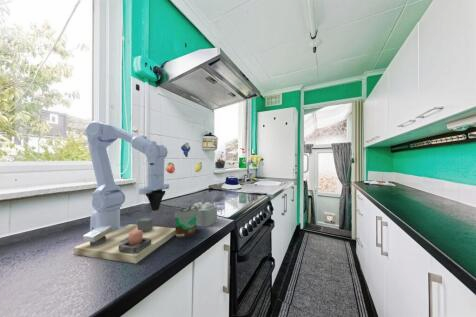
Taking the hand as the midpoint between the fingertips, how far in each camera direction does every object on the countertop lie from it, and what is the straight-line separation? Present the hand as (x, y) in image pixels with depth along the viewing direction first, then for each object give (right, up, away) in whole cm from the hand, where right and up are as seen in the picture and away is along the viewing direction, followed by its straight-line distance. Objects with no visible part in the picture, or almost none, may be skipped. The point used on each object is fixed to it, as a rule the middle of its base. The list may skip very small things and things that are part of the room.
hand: (155, 210), depth 64 cm
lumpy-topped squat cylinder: (+15, -10, +15) cm, 23 cm away
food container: (+13, -10, +1) cm, 16 cm away
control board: (-5, -9, -7) cm, 12 cm away
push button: (+1, -5, -14) cm, 15 cm away
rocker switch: (-13, -4, -11) cm, 17 cm away
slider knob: (-3, -7, -1) cm, 8 cm away
